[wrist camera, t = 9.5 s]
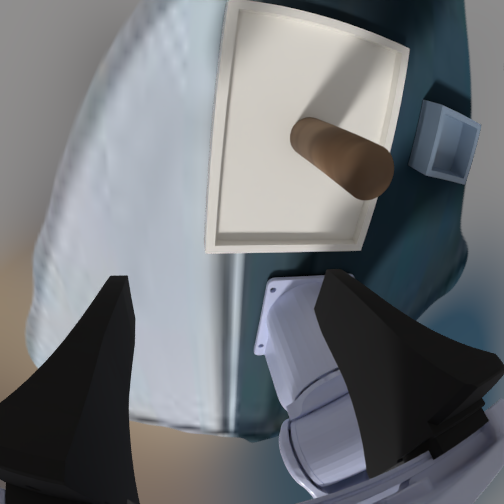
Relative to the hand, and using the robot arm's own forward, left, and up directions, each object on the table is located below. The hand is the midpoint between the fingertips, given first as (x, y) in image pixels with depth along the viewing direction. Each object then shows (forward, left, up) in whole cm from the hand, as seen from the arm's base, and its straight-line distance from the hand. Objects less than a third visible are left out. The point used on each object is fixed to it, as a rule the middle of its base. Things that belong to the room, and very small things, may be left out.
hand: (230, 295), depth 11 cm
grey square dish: (+6, -18, -10) cm, 21 cm away
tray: (+4, -6, -10) cm, 12 cm away
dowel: (+4, -6, -9) cm, 12 cm away
